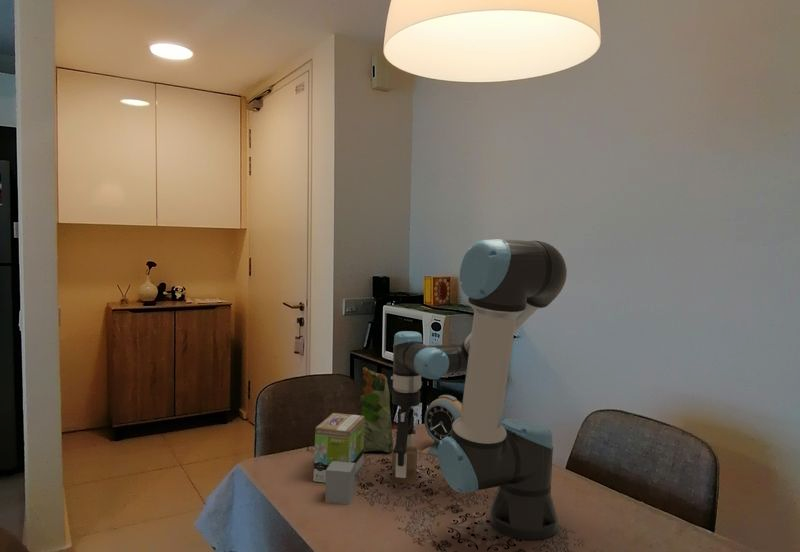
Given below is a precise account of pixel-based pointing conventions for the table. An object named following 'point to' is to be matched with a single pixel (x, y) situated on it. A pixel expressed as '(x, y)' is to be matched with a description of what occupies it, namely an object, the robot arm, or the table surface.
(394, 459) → the walnut block
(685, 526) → the table surface
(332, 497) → the grey block
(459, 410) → the alarm clock
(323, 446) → the tea box
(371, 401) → the pouch
